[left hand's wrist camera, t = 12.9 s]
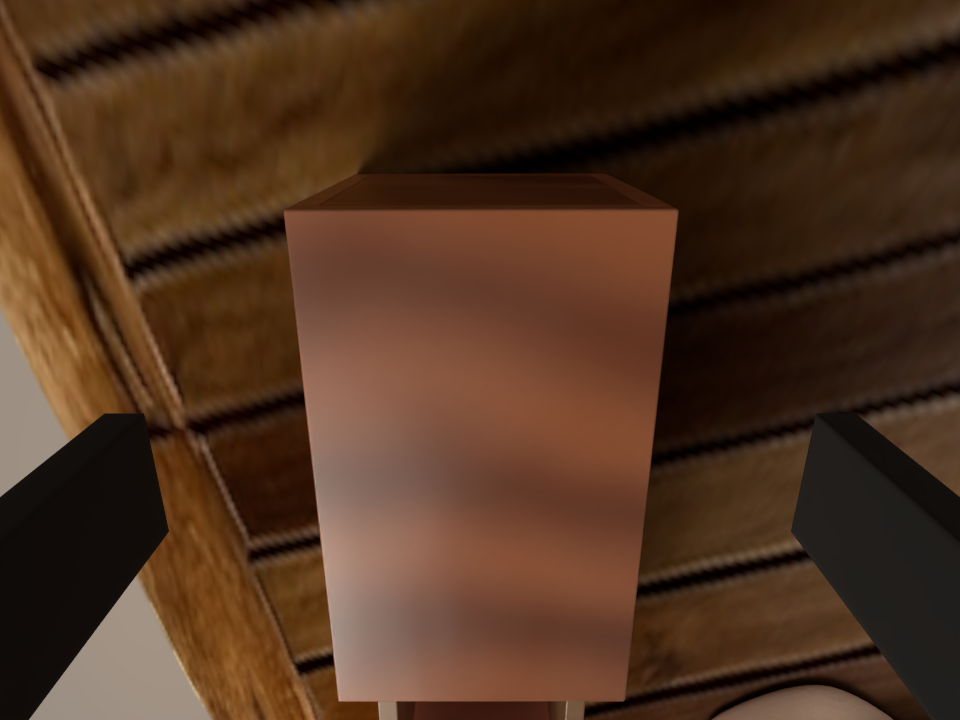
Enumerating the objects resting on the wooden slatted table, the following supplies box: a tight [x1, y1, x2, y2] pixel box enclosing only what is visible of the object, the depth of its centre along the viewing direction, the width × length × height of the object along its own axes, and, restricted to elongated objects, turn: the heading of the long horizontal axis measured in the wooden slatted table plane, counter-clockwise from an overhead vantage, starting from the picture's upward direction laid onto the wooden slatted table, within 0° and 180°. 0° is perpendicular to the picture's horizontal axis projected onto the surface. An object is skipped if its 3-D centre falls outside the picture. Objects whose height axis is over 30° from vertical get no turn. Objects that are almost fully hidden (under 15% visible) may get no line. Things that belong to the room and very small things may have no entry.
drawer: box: [378, 701, 585, 720], centre depth 32 cm, size 23×10×9 cm, turn 0°
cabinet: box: [284, 173, 679, 701], centre depth 27 cm, size 19×11×11 cm, turn 0°
